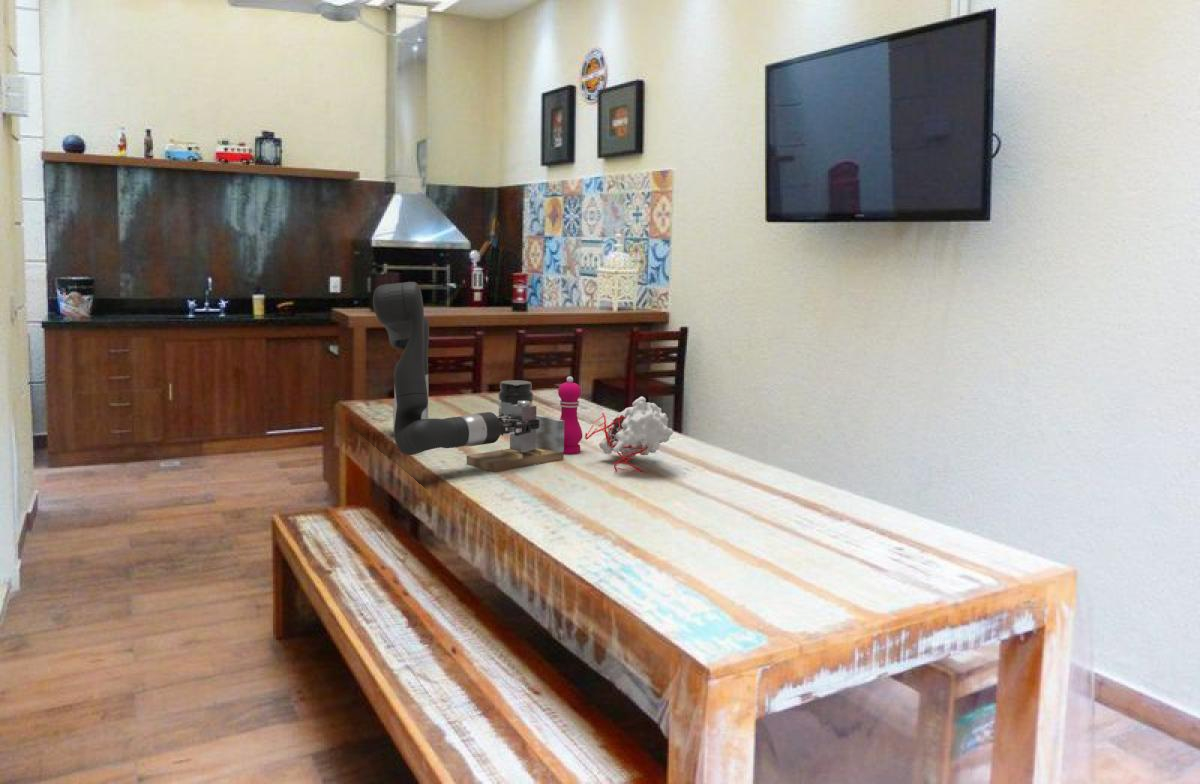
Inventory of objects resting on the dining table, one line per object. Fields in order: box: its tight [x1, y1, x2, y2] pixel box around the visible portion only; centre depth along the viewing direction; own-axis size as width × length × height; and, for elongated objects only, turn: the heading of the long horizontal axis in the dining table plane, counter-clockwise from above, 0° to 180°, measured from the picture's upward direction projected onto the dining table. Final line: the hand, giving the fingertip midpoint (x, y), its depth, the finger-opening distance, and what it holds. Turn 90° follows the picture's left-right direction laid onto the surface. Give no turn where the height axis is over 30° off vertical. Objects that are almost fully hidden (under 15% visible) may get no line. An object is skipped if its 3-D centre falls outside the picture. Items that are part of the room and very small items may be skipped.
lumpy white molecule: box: [584, 396, 674, 473], centre depth 229 cm, size 20×18×25 cm
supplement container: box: [498, 379, 534, 417], centre depth 286 cm, size 10×10×12 cm
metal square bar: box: [509, 401, 538, 452], centre depth 231 cm, size 4×4×12 cm
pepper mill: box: [557, 376, 583, 455], centre depth 244 cm, size 7×7×20 cm
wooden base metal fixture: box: [466, 413, 565, 473], centre depth 232 cm, size 11×22×10 cm, turn 134°
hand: (531, 422), depth 233 cm, fingers closed on metal square bar, 4 cm apart
